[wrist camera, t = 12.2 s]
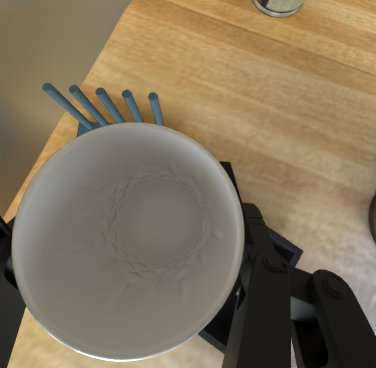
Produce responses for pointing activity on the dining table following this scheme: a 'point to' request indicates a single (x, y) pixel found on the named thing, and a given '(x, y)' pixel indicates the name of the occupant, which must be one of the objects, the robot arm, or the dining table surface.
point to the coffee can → (278, 7)
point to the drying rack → (103, 96)
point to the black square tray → (222, 321)
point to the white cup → (127, 241)
